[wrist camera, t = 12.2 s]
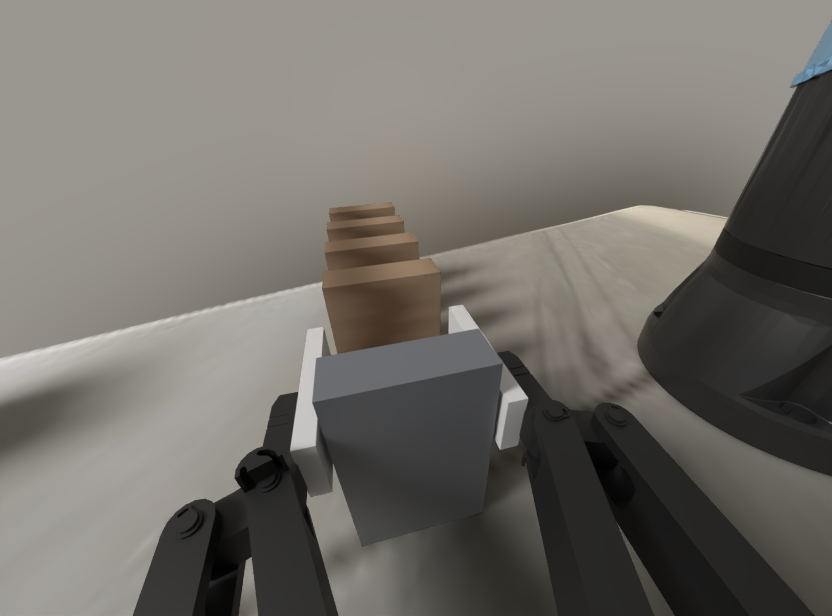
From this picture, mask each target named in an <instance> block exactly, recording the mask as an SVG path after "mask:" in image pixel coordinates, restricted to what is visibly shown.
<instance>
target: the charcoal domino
mask: <svg viewBox="0 0 832 616" xmlns="http://www.w3.org/2000/svg"><path fill="white" fill-rule="evenodd" d="M502 368H503V362H502V361H501V359H500V358H499V357H498V355H497V354H496V352H495V351H494V350H493V348H492V347H491V345H490V344H489V342H488V341H487V340H486V338H485V337H484V335H483V334H482V332H481V331H480V330H479V328H478V329H473V330H467V331H462V332H456V333H451V334H445V335H440V336H434V337H429V338H423V339H418V340H412V341H407V342H401V343H396V344H390V345H385V346H379V347H374V348H368V349H363V350H357V351H352V352H346V353H341V354H335V355H330V356H324V357H319V358H316V364H315V375H314V386H313V397H312V404H313V407H314V410H315V412H316V415H317V418H318V421H319V424H320V427H321V430H322V433H323V435H324V438H325V441H326V444H327V447H328V450H329V453H330V455H331V458H332V461H333V464H334V467H335V470H336V473H337V476H338V478H339V481H340V484H341V487H342V490H343V493H344V496H345V499H346V501H347V504H348V507H349V510H350V513H351V516H352V519H353V521H354V524H355V527H356V530H357V533H358V536H359V539H360V542H361V544H362V546H365V545H369V544H372V543H376V542H379V541H383V540H386V539H390V538H393V537H397V536H400V535H404V534H407V533H411V532H415V531H418V530H422V529H425V528H429V527H432V526H436V525H439V524H443V523H446V522H450V521H453V520H457V519H460V518H464V517H467V516H471V515H474V514H478V513H482V512H483V506H484V499H485V492H486V485H487V477H488V470H489V463H490V456H491V448H492V441H493V434H494V426H495V419H496V412H497V405H498V397H499V390H500V383H501V376H502Z"/></svg>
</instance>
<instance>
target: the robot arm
mask: <svg viewBox="0 0 832 616" xmlns="http://www.w3.org/2000/svg"><path fill="white" fill-rule="evenodd" d="M793 87H797V88H796V90H795V92H794V94H793V95H792V98H791V99H790V101H789V103H788V105H787V107H786V109H785V111H784V113H783V115H782V116H781V119H780V120H779V122H778V124H777V126H776V128H775V130H774V132H773V134H772V136H771V138H770V140H769V141H768V144H767V145H766V147H765V149H764V151H763V153H762V155H761V157H760V159H759V161H758V163H757V164H756V166H755V168H754V170H753V172H752V174H751V176H750V178H749V180H748V182H747V184H746V185H745V187H744V189H743V191H742V193H741V195H740V197H739V199H738V201H737V203H736V205H735V207H734V209H733V211H732V213H731V214H730V216H729V218H728V220H727V222H726V224H725V226H724V228H723V230H722V232H721V234H720V236H719V238H718V240H717V242H716V244H715V246H714V248H713V250H712V251H711V253H710V255H709V256H708V257H707V259H706V260H705V261H704V262H703V263H702V264H701V265H700V266H699V267H698V268H697V269H696V270H694V271H693V272H692V273H691V274H690V275H689V276H688V277H687V278H686V279H685V280H684V281H683V282H682V283H681V284H680V285H679V286H678V287H677V288H676V289H675V290H674V291H673V292H672V293H671V294H670V295H669V296H668V297H667V299H666V300H665V301H664V302H663V303H661V304H660V305H658V306H657V307H656V308H655V309H654V310H653V311H652V312H651V314H650V315H649V317H648V318H647V320H646V323H645V325H644V327H643V329H642V332H641V334H640V336H639V338H638V344H637V346H638V352H639V356H640V358H641V360H642V362H643V364H644V366H645V367H646V369H647V370H648V371H649V373H650V374H651V375H652V377H653V378H654V379H655V380H656V381H657V382H658V383H659V384H660V385H661V386H662V387H663V388H664V389H665V390H666V391H667V392H668V393H669V394H671V395H672V396H673V397H674V398H675V399H677V400H678V401H679V402H680V403H682V404H683V405H684V406H686V407H687V408H689V409H690V410H691V411H693V412H694V413H696V414H697V415H699V416H700V417H702V418H703V419H705V420H706V421H708V422H710V423H711V424H713V425H715V426H716V427H718V428H720V429H721V430H723V431H725V432H727V433H729V434H731V435H732V436H734V437H736V438H738V439H740V440H742V441H744V442H746V443H748V444H750V445H752V446H754V447H757V448H759V449H761V450H763V451H765V452H768V453H770V454H772V455H775V456H777V457H779V458H782V459H784V460H787V461H790V462H792V463H795V464H798V465H800V466H803V467H806V468H809V469H812V470H815V471H818V472H821V473H824V474H828V475H831V476H832V20H831V22H830V24H829V25H828V27H827V29H826V31H825V33H824V34H823V36H822V38H821V40H820V41H819V43H818V45H817V47H816V49H815V50H814V52H813V54H812V55H811V57H810V59H809V61H808V63H807V64H806V66H805V68H804V70H803V71H802V72H800V73H798V74H797V76H795V77H794V79H793V81H792V83H791V85H790V88H793ZM478 328H479V327H478V326H477V325H476V323H475V322H474V320H473V319H472V317H471V316H470V315H469V313H468V312H467V310H466V309H465V308H464V306H463V305H458V306H452V307H449V334H451V333H456V332H462V331H467V330H473V329H478ZM479 330H480V329H479ZM480 331H481V330H480ZM482 334H483V333H482ZM484 337H485V336H484ZM485 338H486V337H485ZM486 340H487V339H486ZM487 341H488V340H487ZM489 344H490V343H489ZM491 347H492V346H491ZM492 348H493V347H492ZM493 350H494V349H493ZM494 351H495V350H494ZM496 354H497V355H498V357H499V358H500V359H501V361H502V362H503V368H502V376H501V383H500V390H499V397H498V405H497V412H496V419H495V426H494V434H493V437H494V439H495V441H496V443H497V445H498V447H499V449H500V450H502V449H506V448H510V447H514V446H518V442H519V438H521V439H522V441H523V443H524V444H525V449H524V453H523V457H522V466H525V462H526V464H527V469H528V474H529V478H530V483H531V488H532V493H533V497H534V502H535V507H536V511H537V516H538V521H539V526H540V530H541V535H542V540H543V545H544V549H545V554H546V559H547V564H548V568H549V573H550V578H551V582H552V587H553V592H554V597H555V601H556V606H557V611H558V616H654V614H653V612H652V609H651V607H650V604H649V602H648V599H647V597H646V594H645V592H644V589H643V587H642V584H641V582H640V579H639V577H638V574H637V572H636V570H635V567H634V565H633V562H632V560H631V557H630V555H629V552H628V550H627V547H626V545H625V542H624V540H623V537H622V535H621V532H620V530H619V527H618V525H619V526H620V528H621V530H622V531H623V533H624V534H625V536H626V538H627V539H628V541H629V542H630V544H631V546H632V547H633V549H634V550H635V552H636V554H637V555H638V557H639V558H640V560H641V562H642V563H643V565H644V566H645V568H646V570H647V571H648V573H649V575H650V576H651V578H652V579H653V581H654V583H655V584H656V586H657V587H658V589H659V591H660V592H661V594H662V595H663V597H664V599H665V600H666V602H667V603H668V605H669V607H670V608H671V610H672V611H673V613H674V615H675V616H815V615H814V614H813V613H812V612H811V611H810V610H809V609H808V608H807V606H806V605H805V604H804V603H803V602H802V601H801V600H800V599H799V598H798V597H797V595H796V594H795V593H794V592H793V591H792V590H791V589H790V588H789V587H788V586H787V584H786V583H785V582H784V581H783V580H782V579H781V578H780V577H779V576H778V574H777V573H776V572H775V571H774V570H773V569H772V568H771V567H770V566H769V565H768V563H767V562H766V561H765V560H764V559H763V558H762V557H761V556H760V555H759V554H758V552H757V551H756V550H755V549H754V548H753V547H752V546H751V545H750V544H749V543H748V541H747V540H746V539H745V538H744V537H743V536H742V535H741V534H740V533H739V532H738V530H737V529H736V528H735V527H734V526H733V525H732V524H731V523H730V522H729V520H728V519H727V518H726V517H725V516H724V515H723V514H722V513H721V512H720V511H719V509H718V508H717V507H716V506H715V505H714V504H713V503H712V502H711V501H710V500H709V498H708V497H707V496H706V495H705V494H704V493H703V492H702V491H701V490H700V489H699V487H698V486H697V485H696V484H695V483H694V482H693V481H692V480H691V479H690V478H689V476H688V475H687V474H686V473H685V472H684V471H683V470H682V469H681V468H680V466H679V465H678V464H677V463H676V462H675V461H674V460H673V459H672V458H671V457H670V455H669V454H668V453H667V452H666V451H665V450H664V449H663V448H662V447H661V446H660V444H659V443H658V442H657V441H656V440H655V439H654V438H653V437H652V436H651V435H650V433H649V432H648V431H647V430H646V429H645V428H644V427H643V426H642V425H641V424H640V422H639V421H638V420H637V419H636V418H635V417H634V416H633V415H632V414H631V413H630V412H629V411H627V410H626V409H624V408H622V407H621V406H619V405H615V404H612V403H602V404H599V405H598V406H597V407H596V408H595V410H594V412H588V411H575V410H570V409H569V408H568V407H566V406H565V405H564V404H562V403H560V402H558V401H555V400H552V399H551V398H550V397H549V396H548V395H547V393H546V392H545V391H544V390H543V388H542V387H541V386H540V384H539V383H538V382H537V381H536V379H535V378H534V377H533V376H532V374H530V372H529V370H528V369H527V368H526V367H525V365H524V364H523V363H522V361H521V360H520V359H519V358H518V357H517V356H515V355H514V354H512V353H511V352H509V351H505V352H500V353H496ZM330 355H331V354H330V350H329V346H328V342H327V338H326V335H325V331H324V327H320V328H313V329H308V330H307V337H306V344H305V351H304V358H303V365H302V372H301V379H300V386H299V392H295V393H290V394H284V395H280V396H279V397H278V398H277V400H276V401H275V403H274V404H273V406H272V409H271V413H270V417H269V418H270V420H269V422H268V426H267V430H266V434H265V439H264V443H263V447H260V448H257V449H255V450H253V451H252V452H250V453H249V454H247V455H246V456H245V457H244V458H243V459H242V460H241V461H240V463H239V465H238V467H237V469H236V472H235V480H236V481H237V483H238V484H239V486H240V487H241V488H240V489H238V490H237V491H235V492H234V493H232V494H230V495H228V496H226V497H224V498H222V499H220V500H218V501H217V502H215V503H213V502H212V501H210V500H207V499H200V500H195V501H193V502H191V503H188V504H186V505H185V506H183V507H182V508H181V509H180V510H178V511H177V512H176V513H175V514H174V515H173V516H172V517H171V519H170V520H169V521H168V522H167V524H166V526H165V528H164V529H163V531H162V533H161V536H160V539H159V542H158V545H157V548H156V551H155V553H154V556H153V559H152V562H151V565H150V568H149V571H148V573H147V576H146V579H145V582H144V585H143V588H142V590H141V593H140V596H139V599H138V602H137V605H136V608H135V610H134V613H133V616H238V615H239V607H240V600H241V592H242V585H243V577H244V570H245V563H246V560H247V559H249V558H250V557H252V563H253V572H254V581H255V589H256V598H257V607H258V616H338V612H337V609H336V605H335V602H334V598H333V594H332V591H331V587H330V584H329V580H328V577H327V573H326V569H325V566H324V562H323V559H322V555H321V552H320V548H319V544H318V541H317V537H316V534H315V530H314V527H313V523H312V519H311V516H310V512H309V509H308V507H307V505H306V500H307V490H308V493H309V495H310V497H314V496H318V495H322V494H326V493H330V492H332V484H333V461H332V458H331V455H330V453H329V450H328V447H327V444H326V441H325V438H324V435H323V433H322V430H321V427H320V424H319V421H318V418H317V415H316V412H315V410H314V407H313V404H312V397H313V386H314V375H315V364H316V358H319V357H324V356H330ZM616 522H617V523H618V525H617V523H616Z"/></svg>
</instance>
